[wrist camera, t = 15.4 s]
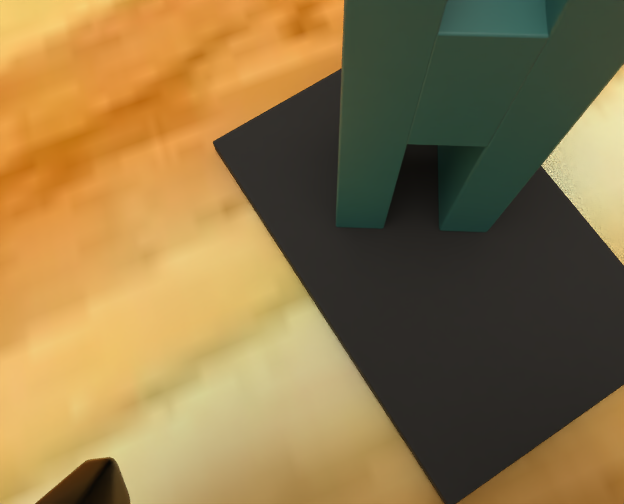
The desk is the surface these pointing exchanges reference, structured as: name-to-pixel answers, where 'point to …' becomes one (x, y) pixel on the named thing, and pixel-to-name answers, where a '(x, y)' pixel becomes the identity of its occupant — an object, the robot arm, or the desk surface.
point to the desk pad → (442, 295)
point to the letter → (465, 96)
